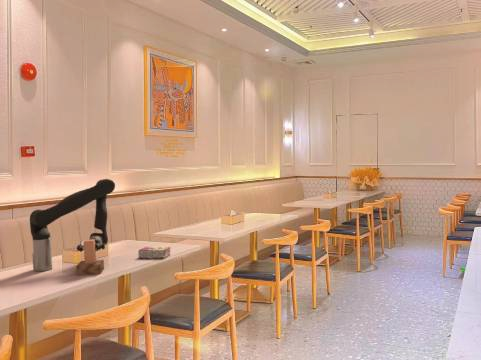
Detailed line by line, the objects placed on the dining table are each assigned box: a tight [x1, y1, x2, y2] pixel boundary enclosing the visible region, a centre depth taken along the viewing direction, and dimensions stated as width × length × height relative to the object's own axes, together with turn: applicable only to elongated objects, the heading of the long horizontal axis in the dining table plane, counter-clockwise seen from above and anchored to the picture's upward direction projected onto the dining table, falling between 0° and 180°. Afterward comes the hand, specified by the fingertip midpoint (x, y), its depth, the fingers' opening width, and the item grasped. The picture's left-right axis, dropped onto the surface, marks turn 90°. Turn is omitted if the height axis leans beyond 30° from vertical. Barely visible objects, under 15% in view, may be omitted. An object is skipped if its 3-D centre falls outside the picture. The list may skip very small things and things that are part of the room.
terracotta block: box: [83, 239, 97, 264], centre depth 267 cm, size 5×5×12 cm
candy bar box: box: [138, 246, 171, 259], centre depth 301 cm, size 11×5×16 cm
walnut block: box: [76, 259, 105, 276], centre depth 267 cm, size 12×12×5 cm
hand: (89, 249), depth 265 cm, fingers open, 8 cm apart
